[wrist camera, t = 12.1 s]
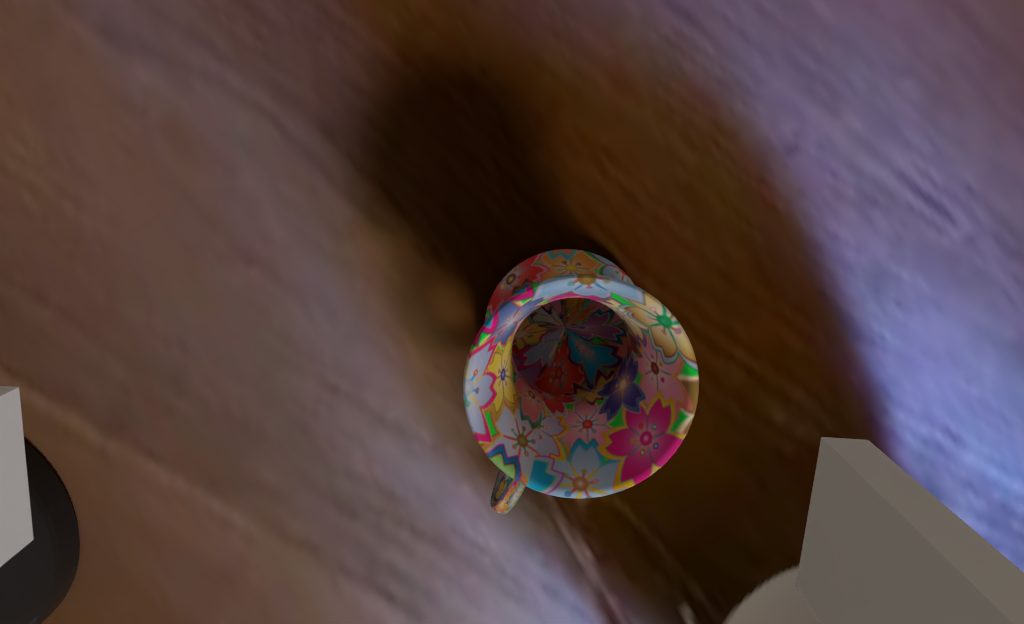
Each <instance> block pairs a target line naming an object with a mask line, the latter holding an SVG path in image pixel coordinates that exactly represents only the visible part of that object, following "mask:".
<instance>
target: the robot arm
mask: <svg viewBox="0 0 1024 624" xmlns="http://www.w3.org/2000/svg"><path fill="white" fill-rule="evenodd" d="M79 549H80V542H79V530H78V525H77V520H76V516H75V513H74V509H73V507H72V504H71V501H70V499H69V497H68V495H67V493H66V491H65V489H64V487H63V485H62V483H61V482H60V480H59V479H58V477H57V476H56V474H55V473H54V472H53V470H52V469H51V467H50V466H49V465H48V464H47V463H46V461H45V460H44V459H43V458H42V457H41V456H40V455H39V454H38V453H37V452H36V451H35V450H34V449H33V448H32V447H31V446H29V445H28V444H27V443H26V442H25V441H24V435H23V425H22V414H21V404H20V394H19V387H9V386H0V624H41V623H42V622H43V621H44V620H45V619H46V618H47V617H48V616H49V615H50V614H51V613H52V612H53V611H54V610H55V609H56V608H57V607H58V605H59V604H60V603H61V602H62V600H63V599H64V597H65V596H66V594H67V592H68V591H69V589H70V587H71V584H72V582H73V580H74V577H75V574H76V570H77V566H78V560H79ZM796 587H797V589H798V590H799V592H800V593H801V595H802V597H803V598H804V600H805V601H806V603H807V605H808V606H809V608H810V609H811V611H812V613H813V614H814V616H815V617H816V619H817V621H818V622H819V624H1024V573H1023V572H1022V571H1021V570H1020V569H1019V568H1018V567H1016V566H1015V565H1014V564H1013V563H1012V562H1011V561H1009V560H1008V559H1007V558H1006V557H1005V556H1003V555H1002V554H1001V553H1000V552H999V551H998V550H996V549H995V548H994V547H993V546H992V545H991V544H989V543H988V542H987V541H986V540H985V539H984V538H982V537H981V536H980V535H979V534H978V533H976V532H975V531H974V530H973V529H972V528H971V527H969V526H968V525H967V524H966V523H965V522H964V521H962V520H961V519H960V518H959V517H958V516H957V515H955V514H954V513H953V512H952V511H951V510H949V509H948V508H947V507H946V506H945V505H944V504H942V503H941V502H940V501H939V500H938V499H937V498H935V497H934V496H933V495H932V494H931V493H930V492H928V491H927V490H926V489H925V488H924V487H922V486H921V485H920V484H919V483H918V482H917V481H915V480H914V479H913V478H912V477H911V476H910V475H908V474H907V473H906V472H905V471H904V470H903V469H901V468H900V467H899V466H898V465H897V464H895V463H894V462H893V461H892V460H891V459H890V458H888V457H887V456H886V455H885V454H884V453H883V452H881V451H880V450H879V449H878V448H877V447H876V446H874V445H873V444H872V443H871V442H870V441H868V440H859V439H843V438H827V437H821V443H820V449H819V455H818V461H817V466H816V472H815V478H814V484H813V490H812V495H811V501H810V507H809V513H808V519H807V525H806V530H805V536H804V542H803V548H802V554H801V559H800V565H799V571H798V577H797V583H796Z"/></svg>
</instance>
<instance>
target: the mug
mask: <svg viewBox="0 0 1024 624" xmlns="http://www.w3.org/2000/svg"><path fill="white" fill-rule="evenodd" d="M698 391H699V378H698V368H697V363H696V358H695V355H694V352H693V349H692V346H691V344H690V341H689V339H688V337H687V335H686V333H685V331H684V330H683V328H682V326H681V325H680V323H679V322H678V321H677V319H676V318H675V317H674V316H673V314H672V313H671V312H670V311H669V310H668V309H667V308H666V307H665V306H664V305H663V304H662V303H661V302H660V301H658V300H657V299H656V298H654V297H653V296H652V295H650V294H649V293H647V292H646V291H644V290H642V289H641V288H639V287H637V286H635V285H634V283H633V282H632V280H631V279H630V278H629V277H628V276H627V275H626V273H625V272H623V271H622V270H621V269H620V268H619V267H618V266H616V265H615V264H614V263H612V262H611V261H609V260H607V259H605V258H603V257H601V256H599V255H596V254H594V253H591V252H587V251H583V250H576V249H558V250H551V251H547V252H543V253H540V254H537V255H535V256H532V257H530V258H528V259H526V260H525V261H523V262H521V263H520V264H518V265H517V266H516V267H514V268H513V269H512V270H511V271H510V272H509V273H508V274H507V275H506V276H505V277H504V278H503V279H502V280H501V282H500V283H499V284H498V286H497V287H496V289H495V291H494V292H493V295H492V297H491V299H490V301H489V304H488V307H487V311H486V316H485V323H484V324H483V326H482V327H481V329H480V331H479V332H478V334H477V336H476V338H475V340H474V342H473V344H472V346H471V349H470V352H469V354H468V357H467V361H466V366H465V371H464V378H463V398H464V406H465V411H466V415H467V419H468V422H469V425H470V427H471V430H472V432H473V434H474V436H475V438H476V440H477V442H478V443H479V445H480V446H481V448H482V449H483V451H484V452H485V453H486V455H487V456H488V457H489V458H490V460H491V461H492V462H493V463H494V464H495V465H496V466H497V467H498V468H500V470H499V473H498V476H497V479H496V482H495V485H494V488H493V492H492V496H491V507H492V509H493V510H495V511H496V512H498V513H501V514H505V513H507V512H509V511H510V510H511V509H512V508H513V506H514V505H515V504H516V502H517V501H518V499H519V497H520V496H521V494H522V492H523V490H524V488H525V486H526V487H529V488H531V489H533V490H536V491H539V492H542V493H545V494H549V495H553V496H558V497H565V498H593V497H600V496H605V495H609V494H613V493H616V492H619V491H622V490H625V489H627V488H629V487H632V486H634V485H636V484H638V483H639V482H641V481H643V480H644V479H646V478H648V477H649V476H651V475H652V474H653V473H654V472H656V471H657V470H658V469H659V468H661V467H662V466H663V465H664V464H665V463H666V462H667V461H668V460H669V459H670V457H671V456H672V455H673V454H674V453H675V452H676V450H677V449H678V447H679V446H680V444H681V443H682V441H683V439H684V438H685V436H686V434H687V432H688V430H689V427H690V425H691V423H692V420H693V417H694V414H695V410H696V405H697V400H698Z"/></svg>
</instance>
